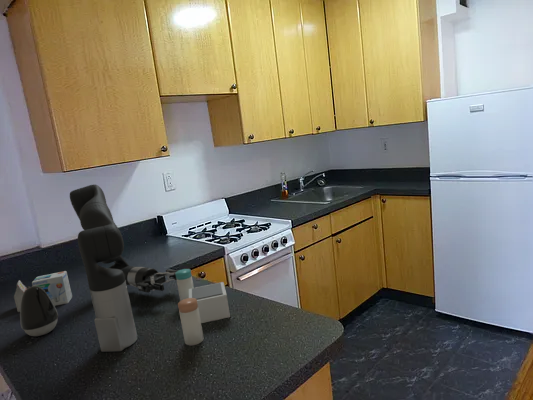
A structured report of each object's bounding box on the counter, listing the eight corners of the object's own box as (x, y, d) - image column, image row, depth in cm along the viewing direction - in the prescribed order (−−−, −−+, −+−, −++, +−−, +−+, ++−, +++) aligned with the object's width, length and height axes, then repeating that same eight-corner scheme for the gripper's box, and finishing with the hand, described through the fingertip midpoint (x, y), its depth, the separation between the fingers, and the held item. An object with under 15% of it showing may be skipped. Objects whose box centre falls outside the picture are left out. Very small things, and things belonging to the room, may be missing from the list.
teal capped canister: (192, 306, 126) (187, 274, 125) (178, 306, 127) (172, 274, 126) (198, 299, 131) (193, 268, 129) (184, 300, 132) (179, 269, 130)
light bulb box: (37, 310, 142) (30, 282, 140) (42, 303, 149) (36, 276, 147) (69, 303, 145) (62, 275, 143) (72, 296, 151) (66, 270, 149)
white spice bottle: (199, 345, 102) (192, 305, 100) (182, 345, 102) (174, 306, 101) (206, 335, 106) (199, 297, 104) (189, 335, 107) (182, 298, 105)
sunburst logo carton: (17, 312, 143) (11, 286, 141) (19, 306, 149) (13, 281, 147) (29, 309, 144) (22, 283, 143) (30, 303, 150) (24, 278, 149)
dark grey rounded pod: (55, 321, 130) (44, 278, 127) (65, 329, 123) (54, 283, 120) (20, 334, 123) (8, 289, 121) (29, 344, 116) (16, 296, 113)
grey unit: (230, 316, 115) (226, 293, 114) (192, 325, 113) (188, 301, 112) (226, 301, 126) (223, 280, 125) (192, 309, 124) (188, 287, 123)
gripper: (124, 275, 135) (154, 280, 125) (156, 261, 146) (186, 264, 137) (128, 295, 136) (158, 301, 127) (160, 280, 147) (190, 284, 138)
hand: (173, 282), depth 132 cm, fingers open, 8 cm apart
